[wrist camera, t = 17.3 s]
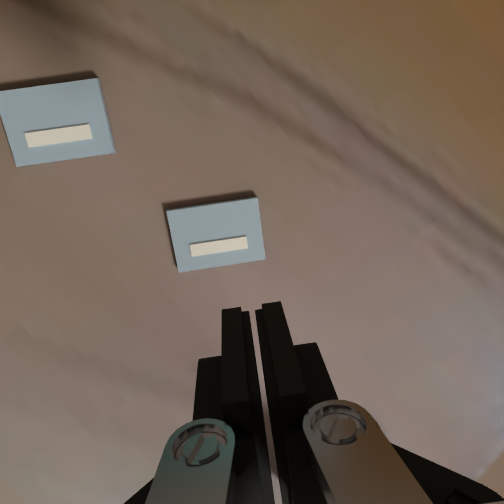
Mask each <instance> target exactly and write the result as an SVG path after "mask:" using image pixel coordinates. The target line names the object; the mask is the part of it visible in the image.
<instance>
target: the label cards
mask: <svg viewBox="0 0 504 504" xmlns="http://www.w3.org/2000/svg"><path fill="white" fill-rule="evenodd" d="M0 115H1V118H2V121H3V124H4V128H5V131H6V134H7V137H8V141H9V144H10V147H11V150H12V153H13V157H14V160H15V163H16V166H17V167H19V166H27V165H34V164H41V163H48V162H55V161H62V160H69V159H76V158H83V157H90V156H97V155H104V154H111V153H116V149H115V145H114V140H113V136H112V132H111V127H110V123H109V119H108V114H107V110H106V106H105V102H104V97H103V93H102V89H101V84H100V80H99V78H93V79H86V80H79V81H71V82H64V83H57V84H49V85H42V86H35V87H27V88H20V89H13V90H6V91H0ZM166 212H167V217H168V222H169V227H170V232H171V237H172V242H173V247H174V252H175V256H176V261H177V266H178V271H179V272H185V271H192V270H199V269H205V268H212V267H218V266H225V265H232V264H238V263H245V262H251V261H258V260H265V252H264V244H263V236H262V229H261V221H260V213H259V206H258V198H257V197H250V198H243V199H236V200H229V201H223V202H216V203H209V204H202V205H195V206H189V207H182V208H175V209H168V210H167V211H166Z"/></svg>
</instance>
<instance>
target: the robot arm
mask: <svg viewBox="0 0 504 504" xmlns="http://www.w3.org/2000/svg"><path fill="white" fill-rule="evenodd" d="M255 314H256V321H257V329H258V336H259V344H260V351H261V359H262V366H263V373H264V381H265V388H266V396H267V402H268V409H269V416H270V423H271V429H272V436H273V443H274V450H275V456H276V463H277V470H278V477H279V483H280V490H281V497H282V503H283V504H504V498H502V497H501V496H500V495H498V494H497V493H496V492H494V491H493V490H491V489H489V488H488V487H486V486H484V485H482V484H480V483H478V482H476V481H473V480H471V479H469V478H467V477H465V476H462V475H460V474H458V473H456V472H454V471H451V470H449V469H447V468H445V467H443V466H440V465H438V464H436V463H434V462H432V461H429V460H427V459H425V458H423V457H421V456H418V455H416V454H414V453H412V452H409V451H407V450H405V449H403V448H401V447H398V446H396V445H394V444H392V443H390V442H389V440H388V439H387V438H386V436H385V435H384V433H383V432H382V430H381V429H380V428H379V426H378V425H377V423H376V422H375V421H374V419H373V418H372V416H371V415H370V414H369V413H368V412H367V411H366V410H365V409H364V408H363V407H361V406H359V405H357V404H356V403H353V402H349V401H346V400H338V397H337V395H336V392H335V389H334V387H333V384H332V382H331V379H330V376H329V374H328V371H327V369H326V366H325V364H324V361H323V358H322V356H321V353H320V351H319V348H318V346H317V344H316V343H315V342H314V343H307V344H300V345H293V342H292V339H291V335H290V332H289V328H288V325H287V321H286V318H285V314H284V311H283V308H282V304H281V301H279V302H272V303H265V304H262V309H258V310H255ZM124 504H275V501H274V494H273V486H272V478H271V471H270V463H269V455H268V447H267V440H266V432H265V424H264V416H263V409H262V401H261V394H260V386H259V379H258V372H257V365H256V358H255V351H254V344H253V336H252V329H251V322H250V315H249V311H244V312H242V311H241V307H237V308H229V309H222V356H216V357H209V358H202V359H199V361H198V369H197V379H196V390H195V401H194V412H193V421H192V422H189V423H186V424H185V425H183V426H182V427H180V428H178V429H177V430H176V431H175V432H174V433H173V434H172V435H171V436H170V438H169V440H168V441H167V443H166V445H165V448H164V451H163V454H162V457H161V460H160V462H159V465H158V468H157V471H156V474H155V477H154V478H153V479H152V480H151V481H150V482H148V483H147V484H146V485H145V486H144V487H143V488H141V489H140V490H139V491H138V492H137V493H136V494H134V495H133V496H132V497H131V498H130V499H129V500H127V501H126V502H125V503H124Z"/></svg>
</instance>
